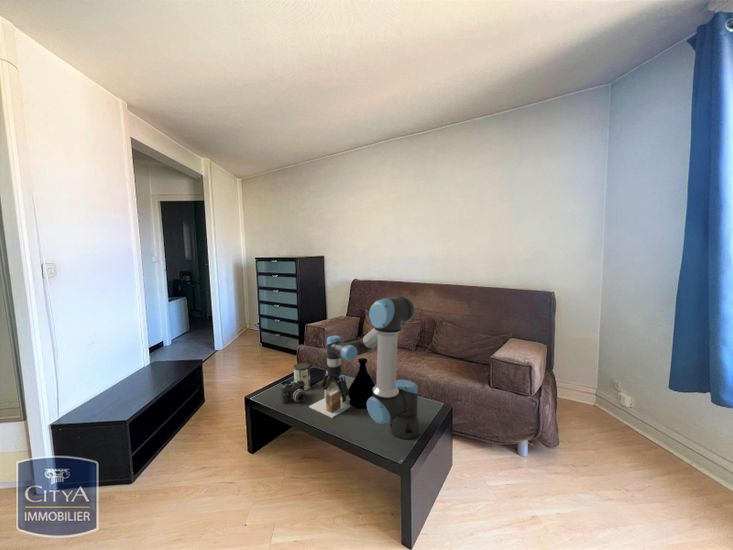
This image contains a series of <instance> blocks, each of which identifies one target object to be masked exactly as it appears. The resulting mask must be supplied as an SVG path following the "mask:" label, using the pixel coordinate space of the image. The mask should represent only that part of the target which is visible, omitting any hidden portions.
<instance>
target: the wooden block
mask: <svg viewBox="0 0 733 550" xmlns="http://www.w3.org/2000/svg"><path fill="white" fill-rule="evenodd" d="M341 396H342V395H341V393H340V391H339V388H338V386H336V387H334V388H332V389H329V391H328V392H326V411H328V412H330V413H333V412H334V411H336V410H338V409H339V408H341Z"/></svg>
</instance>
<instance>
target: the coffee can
mask: <svg viewBox="0 0 733 550" xmlns="http://www.w3.org/2000/svg"><path fill="white" fill-rule="evenodd" d="M299 380H303V382H304V391H307V390H308V389H311V365H310V363H307V362H300V363H296V364H295V365H293V382H294V381H295V382H298V381H299Z"/></svg>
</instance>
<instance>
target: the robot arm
mask: <svg viewBox="0 0 733 550" xmlns="http://www.w3.org/2000/svg"><path fill="white" fill-rule="evenodd" d="M414 304H415V303H414V302H413V301H412V299H410V298H408V297H406V296H395V297H388V298H387V297H386V298H381V299H378V300H376V301H374V303H373V304H371V306H370V308H369V312H368V315H369V317H368V318H369V321H370V323H371V325H372V326H373V328H371V330H369V331H368V333H367V334H365V335H364V336H363V337H362V338H361V339H358V340H355V341H351V342H346V343H345V342H342V338H341V336H339V335H329V336H328V337H327V339H326V360H327V361H326V365H327V367H326V369H327V370H326V371H323V378H322V382H321V384H320V387H321V388H322V389H323V395H324V398H325V402H326V392H328V391H330V388H329V387H330V386H331V383H334V384H335V385H336V387H338V388H339V391H340V393H341V395H342V396H341V409H342V408H344V407H345V404H346V402H347V396H348V395H349V392H348V390H349V388H348V384H347V381H346V376H345V375H343V376H342V375H341V373H342V360H345V361H348V362H349V361H350V362H351V361H354V360H355V359H356V358H357V357H358V356H361V355H364V354H367V353H368V354H369V353H371V352H373V351H374V350H375V348H376V347H377V348H376V349H377V351H376V352H377V353H376V354H377V355H376V376H375V377H376V378H375V379H376V383H375V386H374V387H373V393H372V397H370V398H369V399H368V400H367V408H366V409H367V412H368V415H369V416H370V417H371V419H372V420H373V421H374V422H375V423H377V424H379V425H384V424H386V423H389V425H388V426H389V432H390V433H391V434H392V436H394V437H396V438H398V439H402V440H412V439H415V437H416V438H418V437H419V436H420V435H421V434H420V433H422V424H421V421H420V416H419V415H418V414H419V413H418V406H419V405H418V400H419V398H418V397H419V395H418V394H419V392H418V385H417V384H416V383H415V382H414V381H411V380H407V379H397V358H398V337H399V334H400V333H401V332H402V327H404V326H405V325H406V324H407V323H410V321H411V320H412V319H413V318H414V316H415V313H416V307H415V305H414ZM419 434H420V435H419ZM418 435H419V436H418ZM417 436H418V437H417Z"/></svg>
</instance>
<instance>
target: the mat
mask: <svg viewBox="0 0 733 550" xmlns="http://www.w3.org/2000/svg"><path fill="white" fill-rule="evenodd" d="M308 408H310V409H312V410H314V411H317V412H318V413H321V414H323V415H325V416H327V417H328V418H331V419H333V418H335V417H336V416H339V415H340V414H341V413H343V412H345V411H346V410H348V409H350V408H351V405H350V404H347V403H345V407H344V408H342V409H341V408H339V409H338V410H336V411H334V412H333V413H330V412H328V411H326V402H325V397H324V398H322V399H320V400H319V401H317V402H314V403H313V404H311V405H309V406H308Z"/></svg>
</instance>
